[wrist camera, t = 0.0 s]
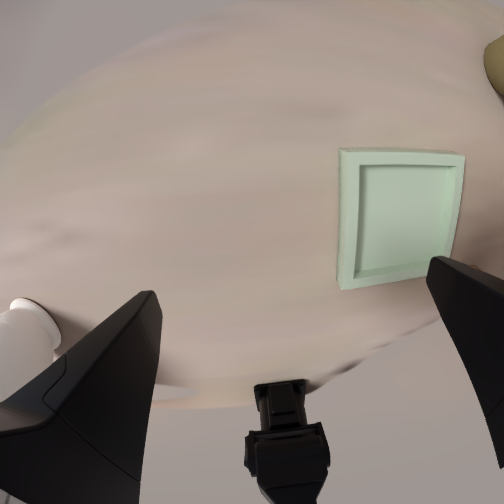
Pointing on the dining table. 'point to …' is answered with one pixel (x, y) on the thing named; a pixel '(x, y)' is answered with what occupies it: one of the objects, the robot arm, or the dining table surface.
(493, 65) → the squeeze bottle
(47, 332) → the jar
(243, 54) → the dining table surface
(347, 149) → the tray
